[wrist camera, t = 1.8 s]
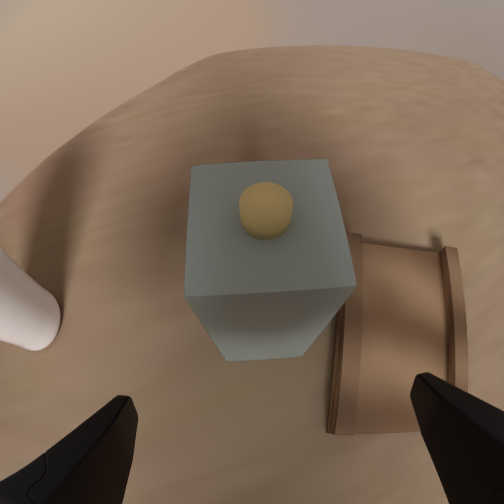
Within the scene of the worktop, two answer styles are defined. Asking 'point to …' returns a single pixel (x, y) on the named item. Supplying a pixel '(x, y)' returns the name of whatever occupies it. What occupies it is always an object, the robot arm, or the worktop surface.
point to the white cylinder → (25, 308)
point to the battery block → (265, 255)
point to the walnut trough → (395, 336)
